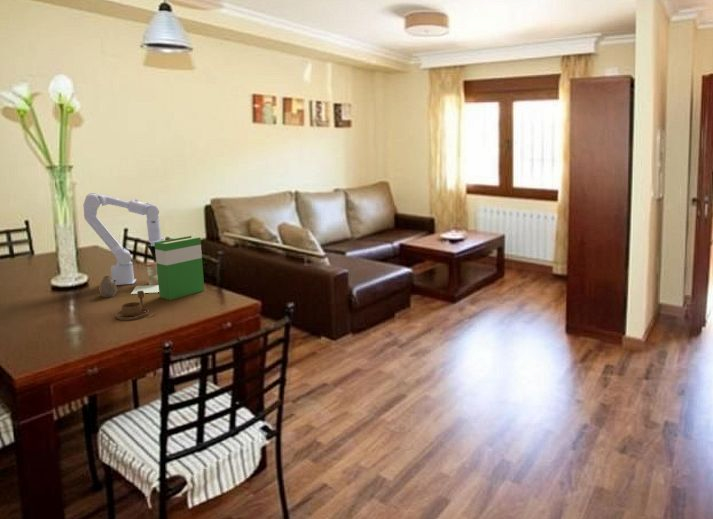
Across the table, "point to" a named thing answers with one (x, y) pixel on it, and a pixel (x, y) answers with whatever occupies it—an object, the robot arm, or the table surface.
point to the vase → (107, 287)
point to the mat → (146, 289)
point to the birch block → (152, 273)
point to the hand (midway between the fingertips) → (157, 258)
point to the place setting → (133, 309)
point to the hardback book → (179, 267)
